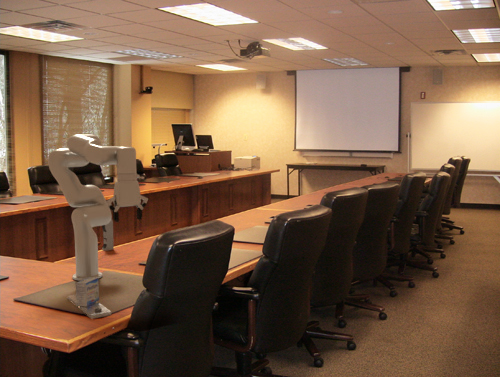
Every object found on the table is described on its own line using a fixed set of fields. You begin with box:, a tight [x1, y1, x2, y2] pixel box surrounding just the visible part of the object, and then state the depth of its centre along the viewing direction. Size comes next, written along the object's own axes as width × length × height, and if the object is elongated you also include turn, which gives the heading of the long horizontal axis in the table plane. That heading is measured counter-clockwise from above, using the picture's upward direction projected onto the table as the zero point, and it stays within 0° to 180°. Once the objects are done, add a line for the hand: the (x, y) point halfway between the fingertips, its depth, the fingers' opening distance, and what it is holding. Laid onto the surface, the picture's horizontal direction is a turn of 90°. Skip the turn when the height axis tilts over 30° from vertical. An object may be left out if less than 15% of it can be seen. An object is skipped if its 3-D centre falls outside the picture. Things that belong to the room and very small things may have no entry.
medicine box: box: [75, 277, 100, 307], centre depth 188 cm, size 8×4×9 cm, turn 163°
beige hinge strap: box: [67, 294, 112, 320], centre depth 188 cm, size 27×7×2 cm, turn 36°
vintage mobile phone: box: [101, 219, 115, 252], centre depth 284 cm, size 4×5×25 cm
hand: (128, 220), depth 207 cm, fingers open, 9 cm apart
